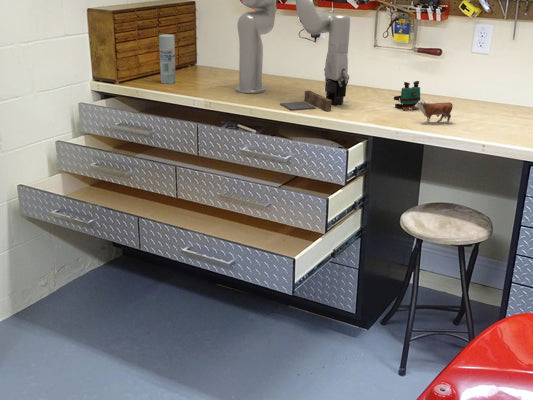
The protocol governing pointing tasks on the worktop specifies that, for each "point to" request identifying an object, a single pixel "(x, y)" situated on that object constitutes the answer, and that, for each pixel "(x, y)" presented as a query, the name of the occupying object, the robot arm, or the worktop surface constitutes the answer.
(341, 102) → the supplement bottle
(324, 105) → the walnut rail
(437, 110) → the bull figurine
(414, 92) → the binoculars
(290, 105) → the pad
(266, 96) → the worktop surface
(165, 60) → the spray paint can
